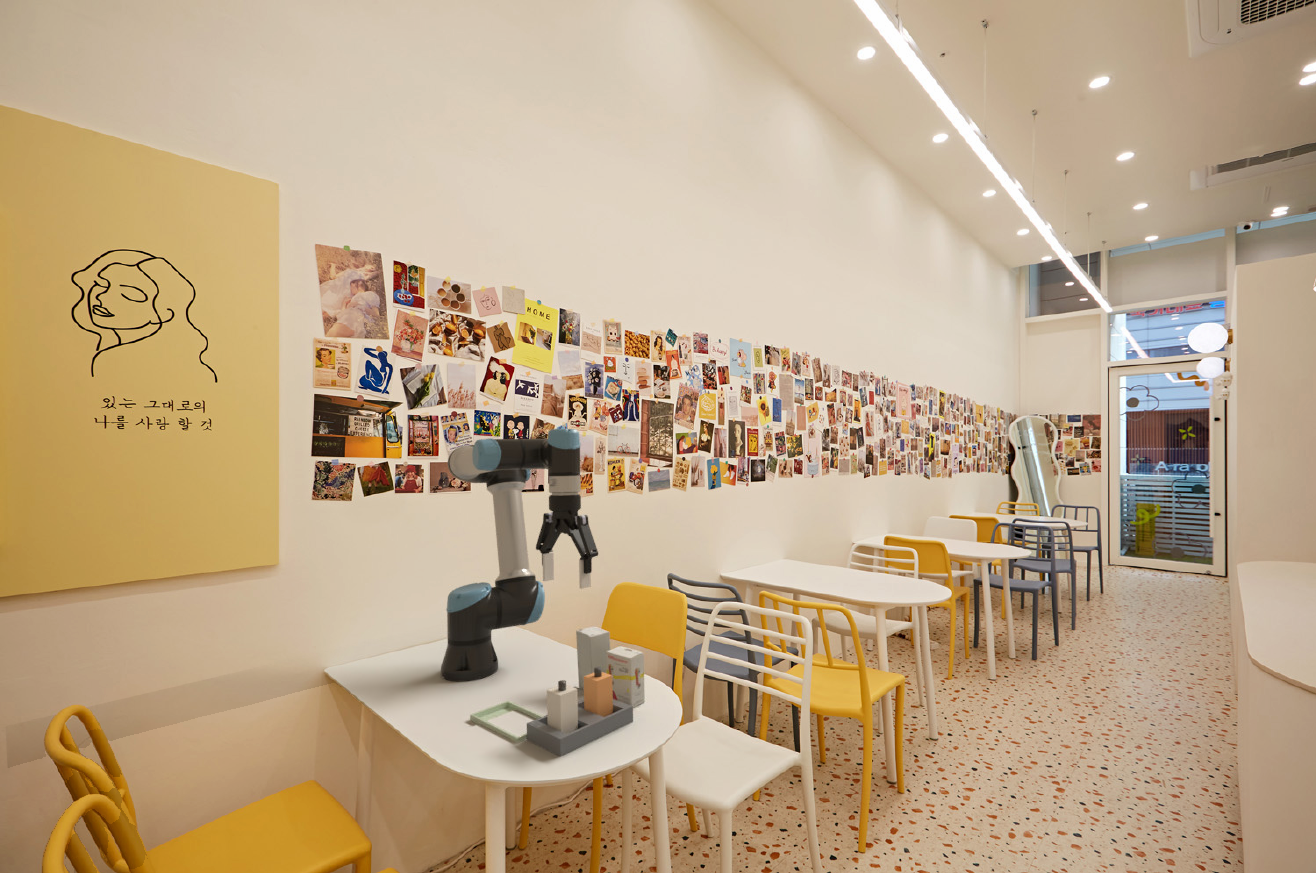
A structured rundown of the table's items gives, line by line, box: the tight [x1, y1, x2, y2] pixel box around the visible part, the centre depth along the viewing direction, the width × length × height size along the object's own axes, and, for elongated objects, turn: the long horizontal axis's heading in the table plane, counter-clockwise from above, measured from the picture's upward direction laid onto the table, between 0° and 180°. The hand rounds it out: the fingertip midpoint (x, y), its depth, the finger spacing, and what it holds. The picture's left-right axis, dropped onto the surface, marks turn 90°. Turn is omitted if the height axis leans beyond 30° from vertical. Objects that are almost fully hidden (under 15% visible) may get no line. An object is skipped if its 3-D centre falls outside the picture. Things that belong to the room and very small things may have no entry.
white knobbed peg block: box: [546, 679, 579, 734], centre depth 124 cm, size 4×4×12 cm
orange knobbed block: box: [583, 667, 613, 717], centre depth 131 cm, size 4×4×12 cm
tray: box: [469, 700, 544, 743], centre depth 132 cm, size 18×10×2 cm, turn 48°
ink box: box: [606, 645, 646, 708], centre depth 144 cm, size 9×5×12 cm, turn 49°
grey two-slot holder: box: [526, 699, 634, 758], centre depth 128 cm, size 11×20×4 cm, turn 138°
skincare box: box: [575, 626, 611, 691], centre depth 152 cm, size 8×6×15 cm
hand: (566, 583), depth 142 cm, fingers open, 13 cm apart
